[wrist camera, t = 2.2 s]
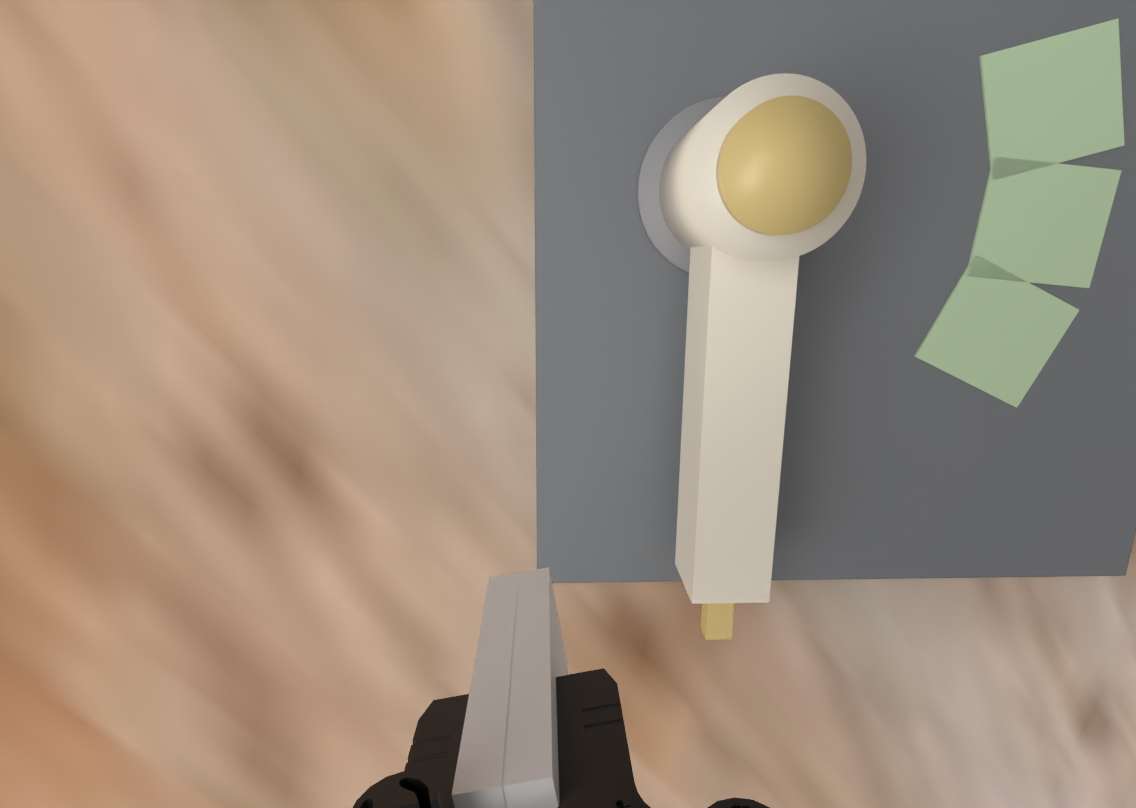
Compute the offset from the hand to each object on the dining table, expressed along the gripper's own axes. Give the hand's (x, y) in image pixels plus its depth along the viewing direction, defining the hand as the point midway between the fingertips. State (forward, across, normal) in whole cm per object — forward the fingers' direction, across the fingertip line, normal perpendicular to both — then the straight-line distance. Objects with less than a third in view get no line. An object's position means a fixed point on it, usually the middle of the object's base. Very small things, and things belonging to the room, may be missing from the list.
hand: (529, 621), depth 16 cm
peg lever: (+10, +8, +3) cm, 13 cm away
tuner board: (+11, +14, +5) cm, 19 cm away
